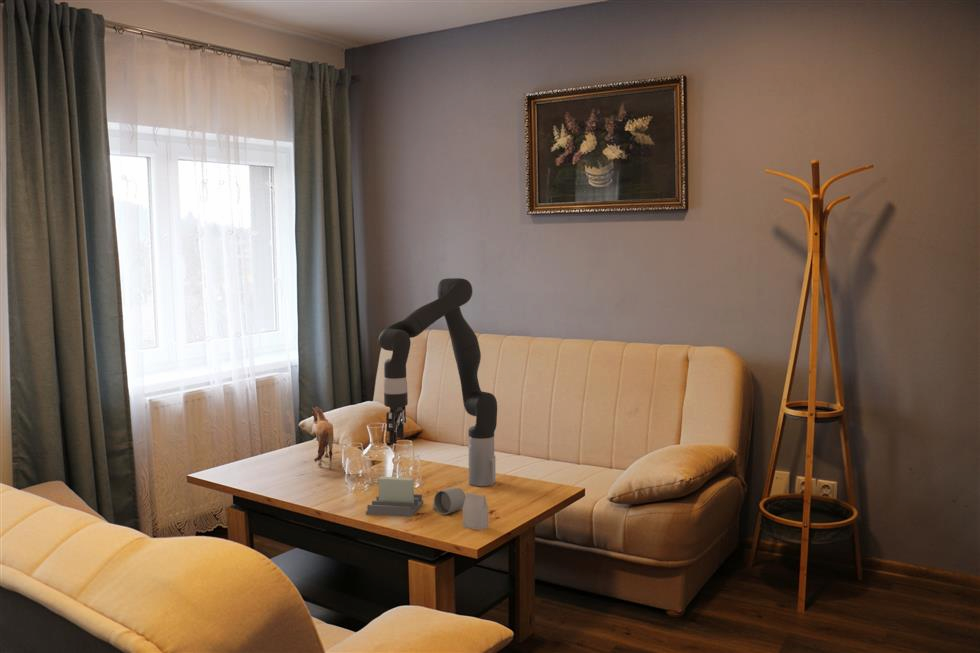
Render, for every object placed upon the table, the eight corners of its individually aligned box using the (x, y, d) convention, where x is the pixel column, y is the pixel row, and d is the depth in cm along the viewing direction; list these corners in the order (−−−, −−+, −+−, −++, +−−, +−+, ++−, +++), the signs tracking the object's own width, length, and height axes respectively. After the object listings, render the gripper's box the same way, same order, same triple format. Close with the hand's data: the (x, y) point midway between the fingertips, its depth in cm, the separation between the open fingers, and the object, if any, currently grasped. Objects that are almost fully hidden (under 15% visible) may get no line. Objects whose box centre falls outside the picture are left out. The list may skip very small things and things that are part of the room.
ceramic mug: (467, 510, 266) (467, 487, 265) (451, 516, 259) (450, 492, 259) (443, 504, 272) (442, 482, 272) (426, 510, 266) (425, 487, 265)
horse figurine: (312, 454, 340) (311, 405, 338) (332, 453, 341) (331, 404, 340) (314, 474, 310) (312, 420, 308) (335, 473, 311) (334, 419, 310)
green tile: (413, 505, 268) (413, 478, 267) (411, 507, 265) (411, 480, 264) (381, 503, 270) (380, 476, 269) (378, 506, 267) (378, 478, 266)
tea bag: (481, 530, 246) (481, 497, 246) (462, 526, 250) (462, 494, 249) (488, 527, 249) (488, 494, 249) (469, 523, 253) (469, 491, 252)
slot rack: (423, 503, 273) (423, 494, 273) (411, 516, 259) (411, 507, 259) (379, 501, 276) (379, 492, 276) (365, 514, 262) (365, 505, 262)
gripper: (400, 395, 258) (402, 446, 260) (412, 387, 272) (413, 435, 274) (377, 394, 260) (379, 445, 261) (390, 387, 274) (391, 435, 275)
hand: (396, 440), depth 268 cm, fingers open, 8 cm apart
